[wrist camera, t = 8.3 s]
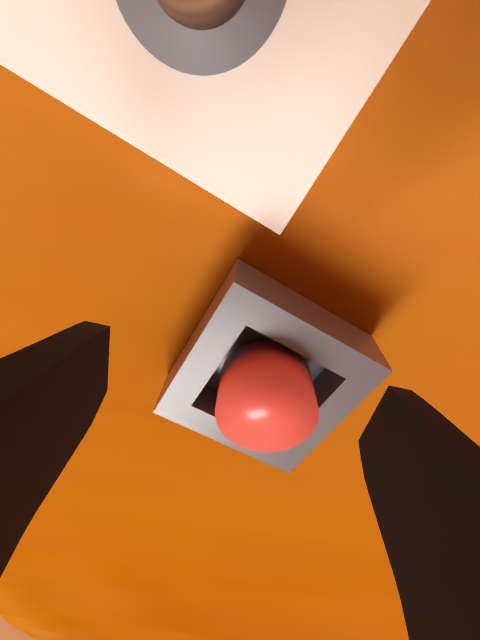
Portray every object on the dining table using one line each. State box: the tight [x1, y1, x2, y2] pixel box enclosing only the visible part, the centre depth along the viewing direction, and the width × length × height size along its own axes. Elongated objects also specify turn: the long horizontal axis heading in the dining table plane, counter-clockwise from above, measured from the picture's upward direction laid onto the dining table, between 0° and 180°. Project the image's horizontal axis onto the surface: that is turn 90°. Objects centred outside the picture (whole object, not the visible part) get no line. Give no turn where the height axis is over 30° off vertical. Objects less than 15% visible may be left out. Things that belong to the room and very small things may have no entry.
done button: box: [215, 341, 319, 452], centre depth 15 cm, size 4×4×2 cm
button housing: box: [153, 259, 392, 473], centre depth 17 cm, size 8×8×3 cm
